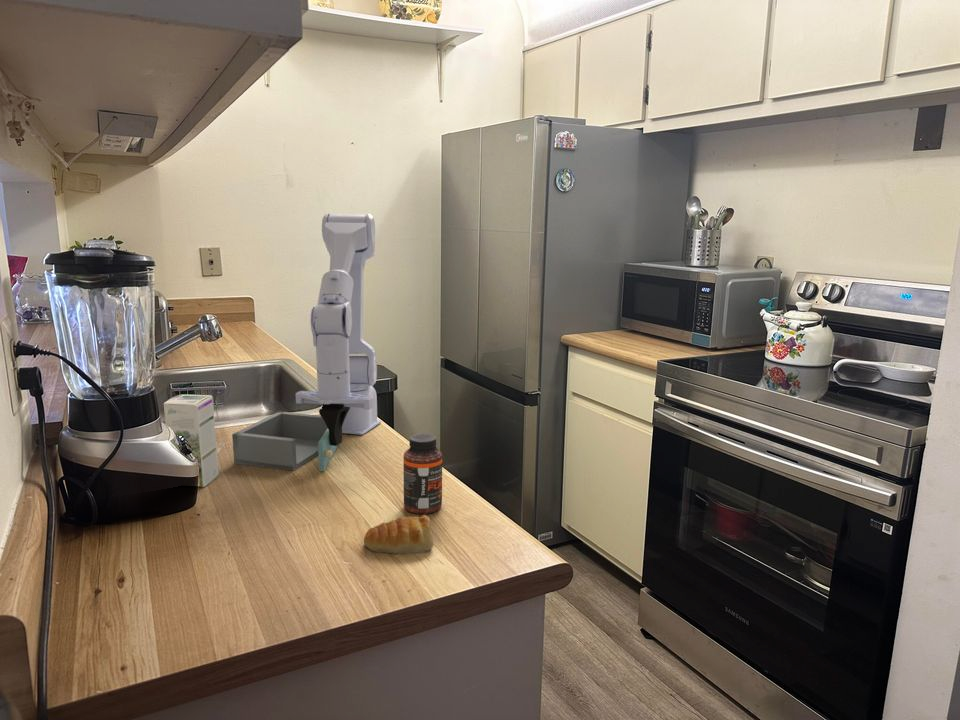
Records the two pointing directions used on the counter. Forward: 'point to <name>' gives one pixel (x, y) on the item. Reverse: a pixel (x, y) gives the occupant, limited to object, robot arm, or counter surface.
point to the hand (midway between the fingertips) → (335, 444)
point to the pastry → (401, 536)
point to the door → (325, 450)
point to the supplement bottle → (422, 475)
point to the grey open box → (279, 441)
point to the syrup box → (195, 430)
